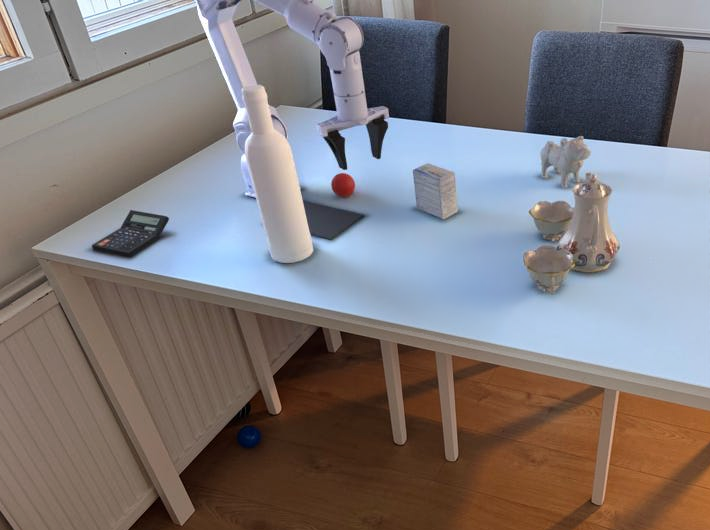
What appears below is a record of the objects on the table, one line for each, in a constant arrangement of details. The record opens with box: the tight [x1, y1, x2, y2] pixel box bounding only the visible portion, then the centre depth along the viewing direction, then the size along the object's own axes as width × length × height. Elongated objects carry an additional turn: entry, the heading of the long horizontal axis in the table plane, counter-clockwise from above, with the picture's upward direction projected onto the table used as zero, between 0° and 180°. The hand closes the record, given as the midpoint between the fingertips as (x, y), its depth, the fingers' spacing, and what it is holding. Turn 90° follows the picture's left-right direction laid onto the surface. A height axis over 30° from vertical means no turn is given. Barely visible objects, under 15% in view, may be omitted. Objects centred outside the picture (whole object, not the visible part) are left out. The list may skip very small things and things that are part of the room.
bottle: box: [241, 84, 314, 264], centre depth 115 cm, size 8×8×30 cm
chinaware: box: [523, 172, 621, 296], centre depth 114 cm, size 28×17×17 cm, turn 178°
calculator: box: [91, 209, 170, 258], centre depth 131 cm, size 9×12×3 cm
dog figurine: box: [539, 135, 592, 189], centre depth 142 cm, size 5×13×11 cm, turn 38°
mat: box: [302, 199, 365, 241], centre depth 135 cm, size 16×11×1 cm
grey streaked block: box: [412, 162, 459, 220], centre depth 133 cm, size 8×4×9 cm, turn 47°
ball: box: [330, 172, 356, 198], centre depth 142 cm, size 5×5×5 cm
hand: (360, 162), depth 132 cm, fingers open, 7 cm apart
